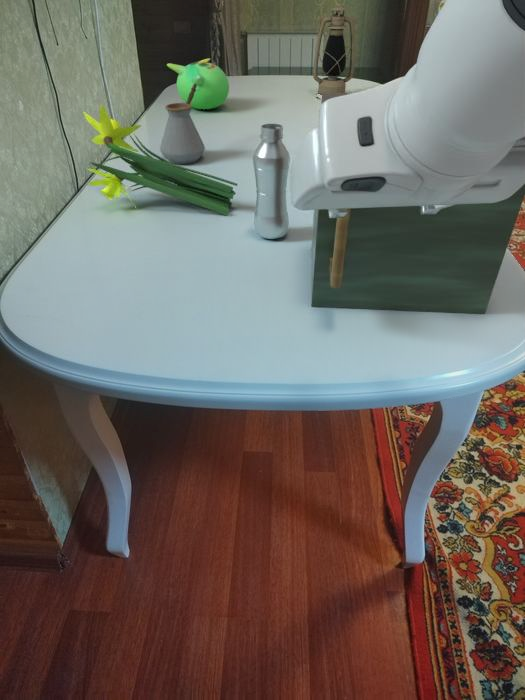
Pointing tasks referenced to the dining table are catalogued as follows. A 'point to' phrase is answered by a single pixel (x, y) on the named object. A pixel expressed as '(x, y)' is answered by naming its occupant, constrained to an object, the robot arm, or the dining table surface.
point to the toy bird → (202, 84)
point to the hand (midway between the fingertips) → (381, 209)
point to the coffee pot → (181, 134)
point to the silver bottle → (271, 183)
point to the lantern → (334, 52)
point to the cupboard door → (413, 256)
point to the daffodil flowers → (154, 170)
